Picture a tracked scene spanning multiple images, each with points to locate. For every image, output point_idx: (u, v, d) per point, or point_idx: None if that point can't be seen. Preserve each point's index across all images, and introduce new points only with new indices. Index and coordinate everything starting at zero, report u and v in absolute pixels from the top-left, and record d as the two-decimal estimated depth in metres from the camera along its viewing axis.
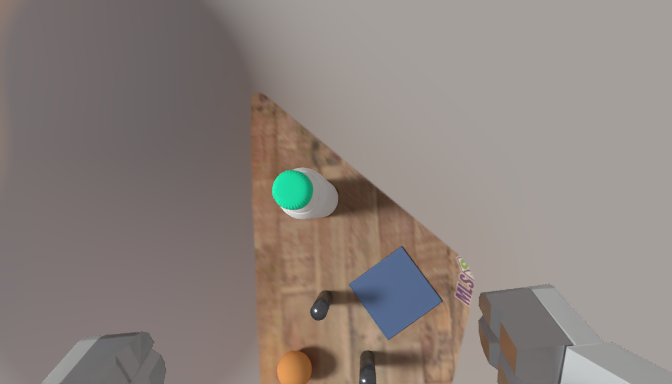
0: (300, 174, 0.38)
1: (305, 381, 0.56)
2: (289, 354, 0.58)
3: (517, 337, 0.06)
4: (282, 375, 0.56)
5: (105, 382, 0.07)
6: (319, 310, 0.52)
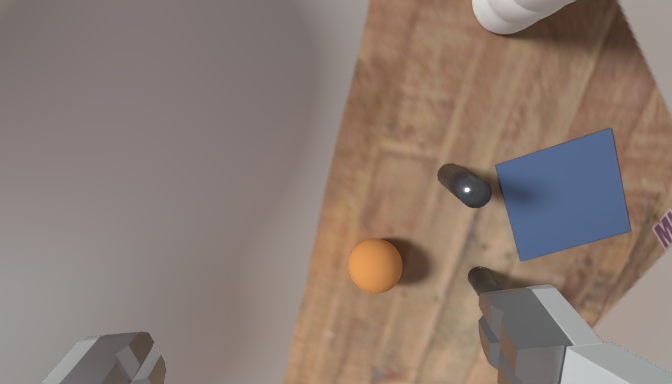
0: None
1: (392, 287, 0.36)
2: (376, 242, 0.36)
3: (517, 337, 0.06)
4: (363, 271, 0.35)
5: (105, 382, 0.07)
6: (479, 191, 0.28)
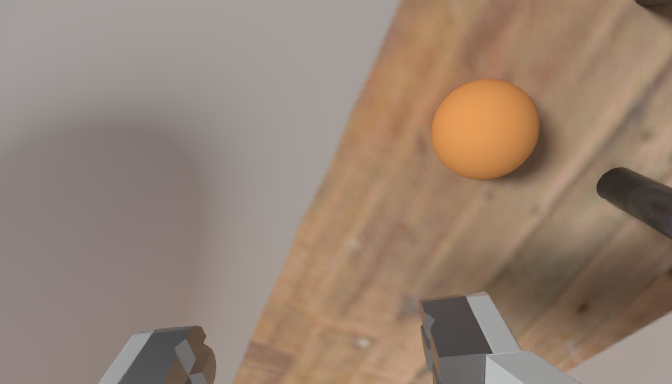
0: None
1: (511, 171, 0.20)
2: (504, 82, 0.19)
3: (442, 345, 0.06)
4: (480, 128, 0.18)
5: (169, 376, 0.07)
6: None
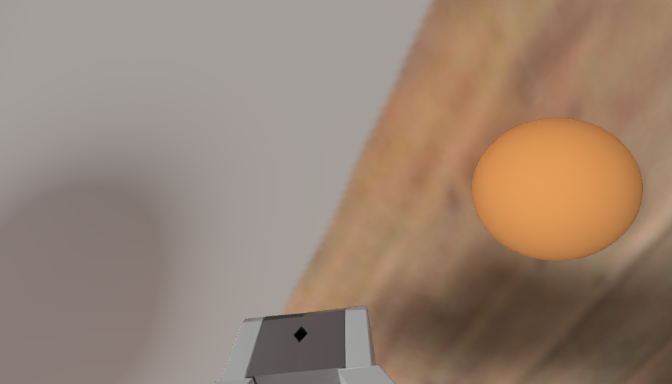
0: None
1: None
2: (587, 125, 0.13)
3: (304, 359, 0.06)
4: (559, 196, 0.11)
5: (298, 362, 0.06)
6: None
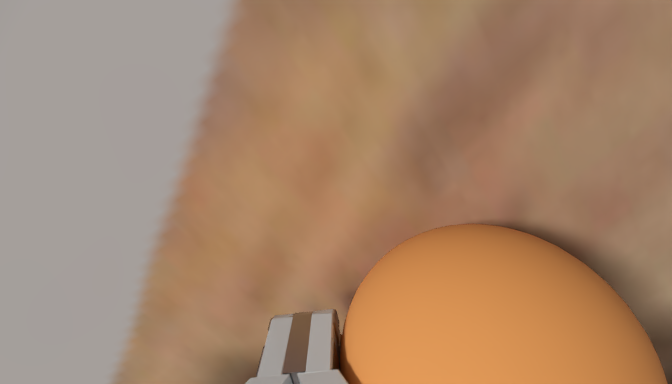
0: None
1: None
2: (559, 257, 0.06)
3: (266, 363, 0.06)
4: None
5: (334, 359, 0.06)
6: None
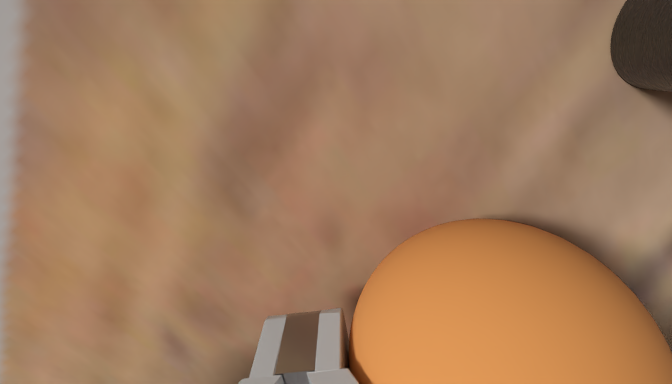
0: None
1: None
2: (565, 248, 0.06)
3: (275, 362, 0.06)
4: None
5: (326, 360, 0.06)
6: None
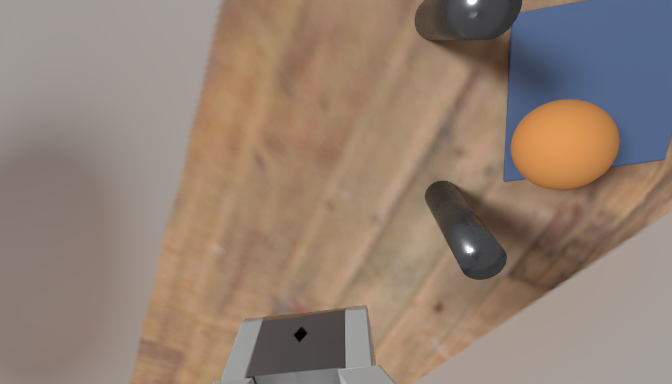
0: None
1: (523, 169, 0.22)
2: (575, 101, 0.21)
3: (303, 359, 0.06)
4: None
5: (298, 362, 0.06)
6: (496, 1, 0.14)
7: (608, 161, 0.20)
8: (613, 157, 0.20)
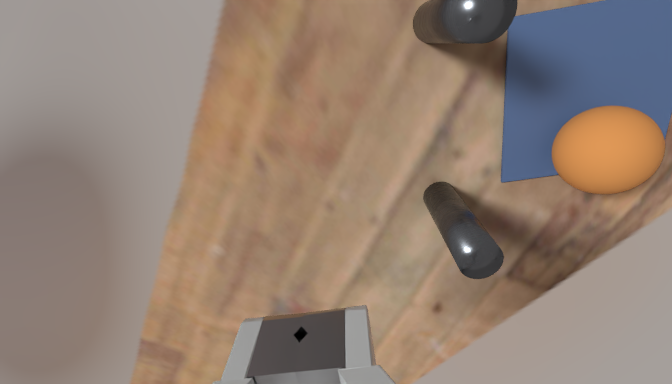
0: None
1: (611, 186, 0.21)
2: (629, 108, 0.21)
3: (304, 359, 0.06)
4: (575, 133, 0.22)
5: (298, 362, 0.06)
6: (492, 5, 0.14)
7: None
8: None
